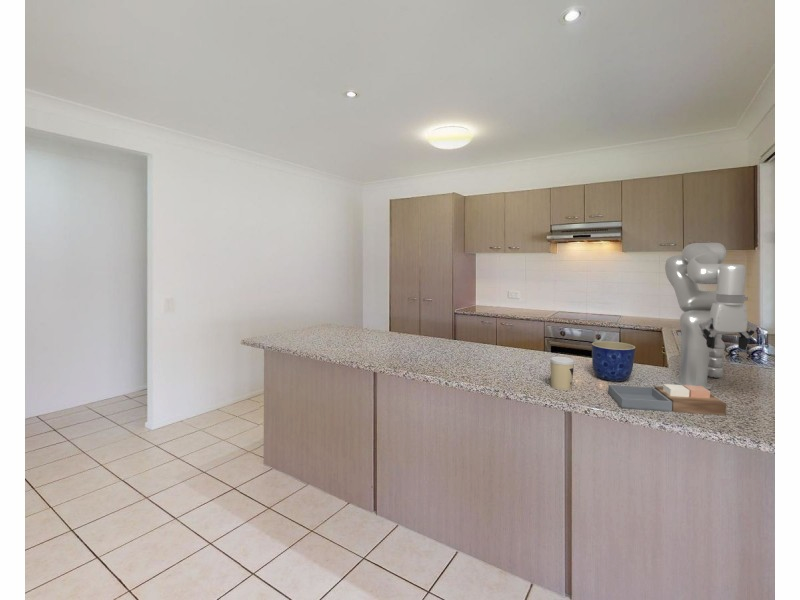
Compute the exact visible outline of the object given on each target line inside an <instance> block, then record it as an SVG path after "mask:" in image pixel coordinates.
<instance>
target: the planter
mask: <svg viewBox="0 0 800 600" xmlns="http://www.w3.org/2000/svg"><path fill="white" fill-rule="evenodd" d="M635 353H636V346H635V345H633V344H630V343H626V342H621V341H620V342H619V341H609V340H608V341H607V340H604V341H602V340H601V341H600V340H599V341H593V342H592V343H591V359H592V361H591V363H592V370H593V373H594V374H595V376H597V377H598V378H599V379H602V380H604V381H608V382H624V381H626V380H628V379H629V378H630V376H631V375H632V373H633V369H634V361H635V355H636V354H635Z"/></svg>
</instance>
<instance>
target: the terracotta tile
mask: <svg viewBox="0 0 800 600" xmlns="http://www.w3.org/2000/svg"><path fill="white" fill-rule="evenodd" d="M683 386H684V387H685V388H687V389H688V390H690V391H689V396H690V397H697V398H710V394H711V391H710V389H708V390H707V389H706V388H704V387H702V386H691V385H683Z"/></svg>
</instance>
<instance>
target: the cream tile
mask: <svg viewBox="0 0 800 600" xmlns="http://www.w3.org/2000/svg"><path fill="white" fill-rule="evenodd" d="M662 387H663V391H664V392H666V393H667V394H668V395H670V396H679V397H689V391H690V390H688V389H687V388H685V387H684V386H682V385H676V384H670V383H669V384H667V383H666V384H665V383H663V385H662Z"/></svg>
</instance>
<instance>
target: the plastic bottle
mask: <svg viewBox="0 0 800 600" xmlns="http://www.w3.org/2000/svg"><path fill="white" fill-rule="evenodd" d="M713 337H715V344H714V348H713V349H711V348H709V362H708V376H707V377H708V378H709V377H710V378H713V377H714V379H717V378H718V379H719V378H722V377H723V375H724V369H723V358H724V352H725V348H726V345H725V342H724V341H723V339H722V338H723V334H715V335H714V336H713Z"/></svg>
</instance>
